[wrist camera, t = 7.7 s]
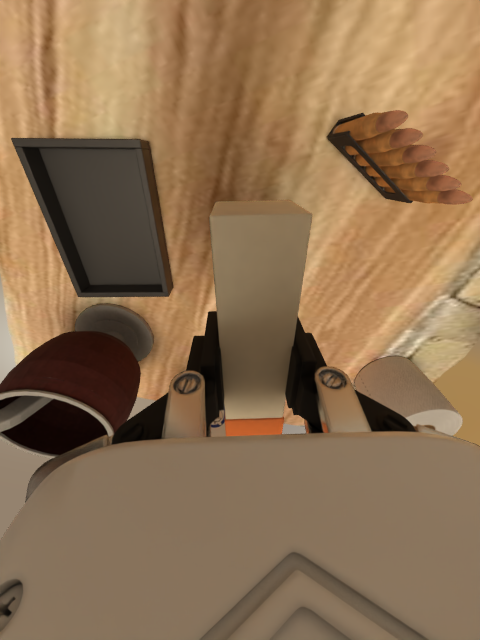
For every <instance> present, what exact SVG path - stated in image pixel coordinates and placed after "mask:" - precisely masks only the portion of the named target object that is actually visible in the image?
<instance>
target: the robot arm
mask: <svg viewBox="0 0 480 640" xmlns="http://www.w3.org/2000/svg"><path fill="white" fill-rule="evenodd" d="M285 396H286V400H287V405H288V408H292V410H293V414H294V415H299V416H301V417H302V418H304V423H305V429H306V434H277V435H249V436H223V437H211V423H212V422H213V421H215V420H216V419H217V418H219V413H220V410H224V385H223V372H222V359H221V348H220V344H219V332H218V319H217V311H212V312H208V318H207V324H206V330H205V336H194V338H193V342H192V347H191V351H190V356H189V360H188V365H187V369H186V371H184V372H181V373H179V374H177V375H176V376H175V377H174V378H173V379H172V380H171V383H170V386H169V392H168V393H167V394H166V395H164V396H163V397H161V398H160V399H158V400H157V401H155V402H154V403H152V404H151V405H150V406H148V407H147V408H145V409H144V410H142V411H141V412H139V413H138V414H136V415H135V416H134V417H132V418H131V419H129V420H128V421H126V422H125V423H123V424H122V425H121V426H120V427H119V428H118V429H117V431H116V432H115V433H114V435H111V436H109V437H108V436H107V435H104V436H102V437H100V438H98V439H95V440H93V441H91V442H89V443H86V444H84V445H82V446H79V447H77V448H75V449H73V450H70V451H68V452H66V453H64V454H61V455H59V456H57V457H55V458H52V459H50V460H49V461H47V462H45V463H44V464H43V465H42V466H40V467H39V468H38V469H37V470H36V471H35V473H34V474H33V475H32V477H31V479H30V481H29V484H28V489H27V495H26V501H25V504H24V506H23V507H22V508H21V510H20V511H19V513H18V514H17V516H16V517H15V518H14V520H13V521H12V523H11V524H10V526H9V527H8V529H7V530H6V532H5V533H4V535H3V537H2V538H1V540H0V640H480V446H479V445H477V444H474V443H471V442H469V441H466V440H463V439H460V438H457V437H454V436H451V435H448V434H445V433H442V432H439V431H437V430H434V429H431V428H428V427H425V426H422V425H419V424H417V425H416V426H413V425H412V424H411V423H410V422H409V421H408V420H407V419H406V418H405V417H404V416H402V415H401V414H399V413H397V412H395V411H393V410H392V409H390V408H388V407H386V406H384V405H382V404H381V403H379V402H377V401H375V400H373V399H371V398H369V397H368V396H366V395H364V394H362V393H360V392H358V391H357V390H355V389H354V388H353V385H352V383H351V381H350V379H349V377H348V375H347V374H345V373H344V372H343V371H341V370H340V369H337V368H335V367H329V366H327V365H326V363H325V361H324V359H323V356H322V354H321V352H320V350H319V348H318V346H317V344H316V341H315V339H314V337H313V335H312V334H311V333H305V332H304V329H303V327H302V325H301V322H300V320H299V318H298V317H297V324H296V330H295V337H294V344H293V346H292V349H291V356H290V363H289V370H288V377H287V384H286V391H285Z"/></svg>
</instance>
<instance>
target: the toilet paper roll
mask: <svg viewBox="0 0 480 640" xmlns="http://www.w3.org/2000/svg"><path fill="white" fill-rule="evenodd" d="M355 387H356V390H357V391H358V392H360V393H362V394H364V395H366V396H368V397H369V398H371V399H373V400H375V401H377V402H379V403H381V404H382V405H384V406H386V407H388V408H390V409H392V410H393V411H395V412H397V413H399V414H401V415H402V416H404V417H405V418H406V419H407V420H408V421H409V422H410V423H411V424H412V425H413V426H416V425H417V424H419V425H422V426H425V427H428V428H431V429H434V430H437V431H439V432H442V433H445V434H448V435H451V436H453V435H454V434H455V433H456V432H457V431H458V430H459V429H460V427H461V425H462V417H461V416H460V414H459V413H458V412H457V411H456V410H455V409H454V407H453V406H452V405H451V404H450V402H449V401H448V400H447V399H446V398H445V396H444V395H443V394H442V393H441V392H440V391H439V390H438V389H437V387H436V386H435V385H434V384H433V383H432V382H431V381H430V380H429V379H428V378H427V377H426V376H425V374H424V373H423V372H422V371H421V370H420V369H419V368H418V367H417V366H416V365H415V364H414V363H413V362H412V361H410V360H409V359H407V358H405V357H400V356H390V357H385V358H381V359H378V360H376V361H373V362H372V363H370V364H368V365H367V366H365V367H364V368H363V369H362V370H361V371H360V372H359V373H358V375H357V377H356V379H355Z"/></svg>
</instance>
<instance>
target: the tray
mask: <svg viewBox="0 0 480 640" xmlns="http://www.w3.org/2000/svg"><path fill="white" fill-rule="evenodd" d="M11 140H12V142H13V145H14V146H15V149H16V152H17V154H18V156H19V159H20V161H21V164H22V166H23V168H24V171H25V173H26V175H27V178H28V180H29V182H30V185H31V187H32V189H33V192H34V194H35V197H36V199H37V201H38V204H39V206H40V208H41V211H42V213H43V215H44V218H45V220H46V222H47V225H48V227H49V229H50V232H51V234H52V237H53V239H54V241H55V244H56V246H57V248H58V251H59V253H60V255H61V258H62V260H63V262H64V265H65V267H66V269H67V272H68V274H69V277H70V279H71V281H72V284H73V286H74V288H75V291H76V293H77V295H78V297H168V296H169V295H170V293H171V290H172V289H173V283H172V277H171V271H170V265H169V259H168V253H167V247H166V241H165V235H164V229H163V223H162V217H161V211H160V205H159V199H158V193H157V187H156V181H155V175H154V169H153V163H152V157H151V151H150V145H149V142H148V141H144V140H140V139H60V138H11Z"/></svg>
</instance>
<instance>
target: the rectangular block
mask: <svg viewBox="0 0 480 640" xmlns="http://www.w3.org/2000/svg"><path fill="white" fill-rule="evenodd" d="M209 221H210V233H211V245H212V258H213V270H214V282H215V295H216V307H217V319H218V332H219V344H220V348H221V359H222V372H223V385H224V406H225V431H226V436H249V435H277V434H282V429H283V422H284V416H283V413H284V406H285V399H286V396H285V391H286V384H287V377H288V370H289V363H290V356H291V349H292V346H293V344H294V337H295V330H296V324H297V317H298V310H299V303H300V296H301V289H302V283H303V276H304V269H305V262H306V255H307V248H308V242H309V235H310V228H311V221H312V213H310V212H308V211H307V210H305V209H304V208H302V207H300V206H299V205H297V204H296V203H294V202H293V201H291V200H272V201H220V202H215V205H214V207H213V209H212V212H211V214H210V217H209Z"/></svg>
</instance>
